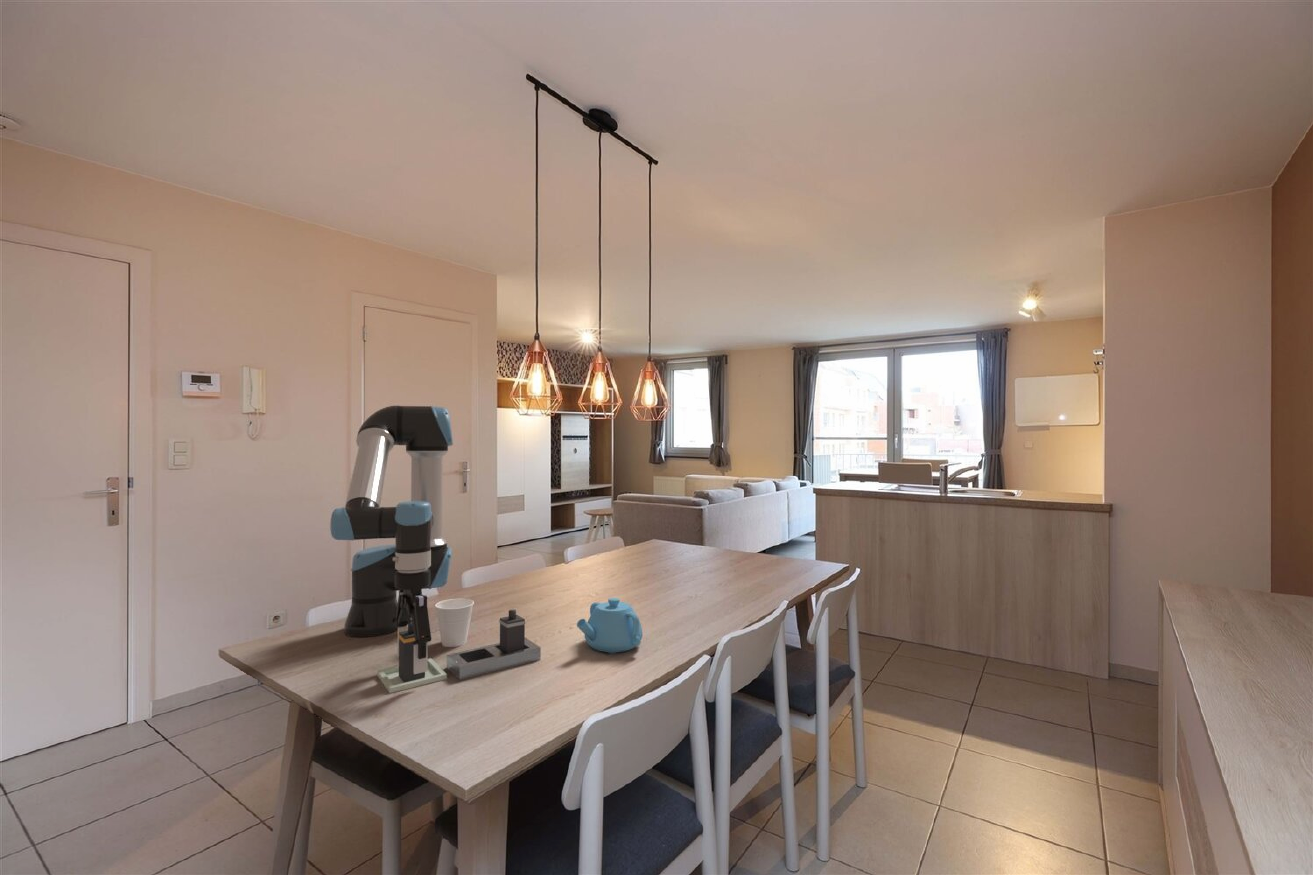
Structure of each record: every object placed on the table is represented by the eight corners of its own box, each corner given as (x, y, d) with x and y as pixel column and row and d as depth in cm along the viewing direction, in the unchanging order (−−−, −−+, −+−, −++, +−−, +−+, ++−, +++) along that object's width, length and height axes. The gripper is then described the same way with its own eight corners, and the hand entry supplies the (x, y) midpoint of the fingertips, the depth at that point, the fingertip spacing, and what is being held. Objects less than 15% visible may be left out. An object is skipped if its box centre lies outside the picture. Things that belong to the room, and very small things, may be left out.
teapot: (660, 648, 149) (660, 600, 149) (603, 670, 134) (603, 617, 134) (609, 630, 162) (610, 586, 163) (553, 648, 148) (553, 600, 148)
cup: (461, 652, 145) (461, 610, 145) (426, 649, 147) (426, 607, 147) (480, 639, 154) (481, 599, 154) (447, 636, 156) (448, 597, 156)
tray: (377, 676, 130) (377, 670, 130) (430, 664, 137) (430, 658, 137) (389, 695, 120) (390, 688, 120) (447, 680, 128) (447, 674, 128)
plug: (398, 675, 129) (398, 623, 129) (419, 670, 132) (420, 619, 132) (403, 682, 125) (404, 628, 125) (425, 677, 128) (426, 624, 128)
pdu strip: (446, 669, 134) (446, 654, 134) (524, 650, 146) (524, 637, 146) (459, 682, 127) (459, 666, 127) (540, 661, 139) (540, 647, 139)
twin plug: (499, 658, 140) (499, 609, 140) (516, 654, 143) (517, 606, 143) (506, 664, 136) (507, 614, 136) (524, 659, 139) (525, 611, 139)
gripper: (382, 562, 136) (381, 650, 136) (410, 582, 117) (409, 685, 116) (414, 558, 141) (413, 644, 141) (447, 577, 121) (446, 676, 121)
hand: (411, 662), depth 128 cm, fingers open, 13 cm apart
